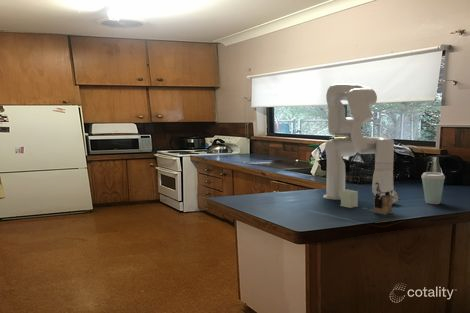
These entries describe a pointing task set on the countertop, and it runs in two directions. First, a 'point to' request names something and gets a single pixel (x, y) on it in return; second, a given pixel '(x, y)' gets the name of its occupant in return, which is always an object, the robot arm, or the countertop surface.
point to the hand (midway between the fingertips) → (382, 206)
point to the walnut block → (384, 205)
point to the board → (370, 210)
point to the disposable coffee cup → (433, 186)
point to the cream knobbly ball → (394, 196)
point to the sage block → (349, 198)
